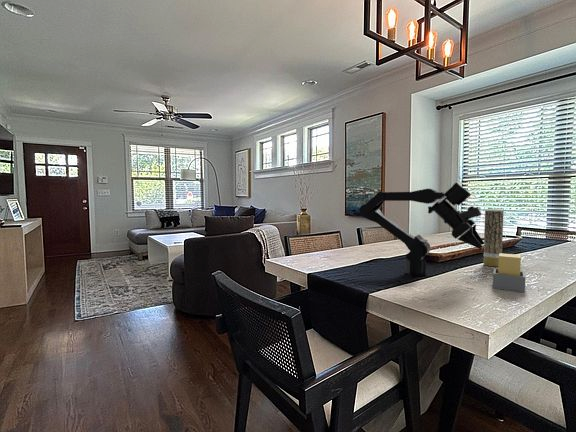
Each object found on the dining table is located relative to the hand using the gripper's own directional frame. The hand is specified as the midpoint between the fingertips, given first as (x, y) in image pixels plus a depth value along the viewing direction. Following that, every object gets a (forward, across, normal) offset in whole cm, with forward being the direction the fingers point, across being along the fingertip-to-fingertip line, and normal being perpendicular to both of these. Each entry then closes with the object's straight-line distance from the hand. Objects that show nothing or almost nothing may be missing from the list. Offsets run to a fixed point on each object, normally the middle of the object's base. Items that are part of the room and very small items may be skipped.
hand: (482, 245), depth 111 cm
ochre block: (+15, 0, +4) cm, 16 cm away
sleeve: (+15, 0, +4) cm, 16 cm away
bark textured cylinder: (+11, +35, +8) cm, 37 cm away
